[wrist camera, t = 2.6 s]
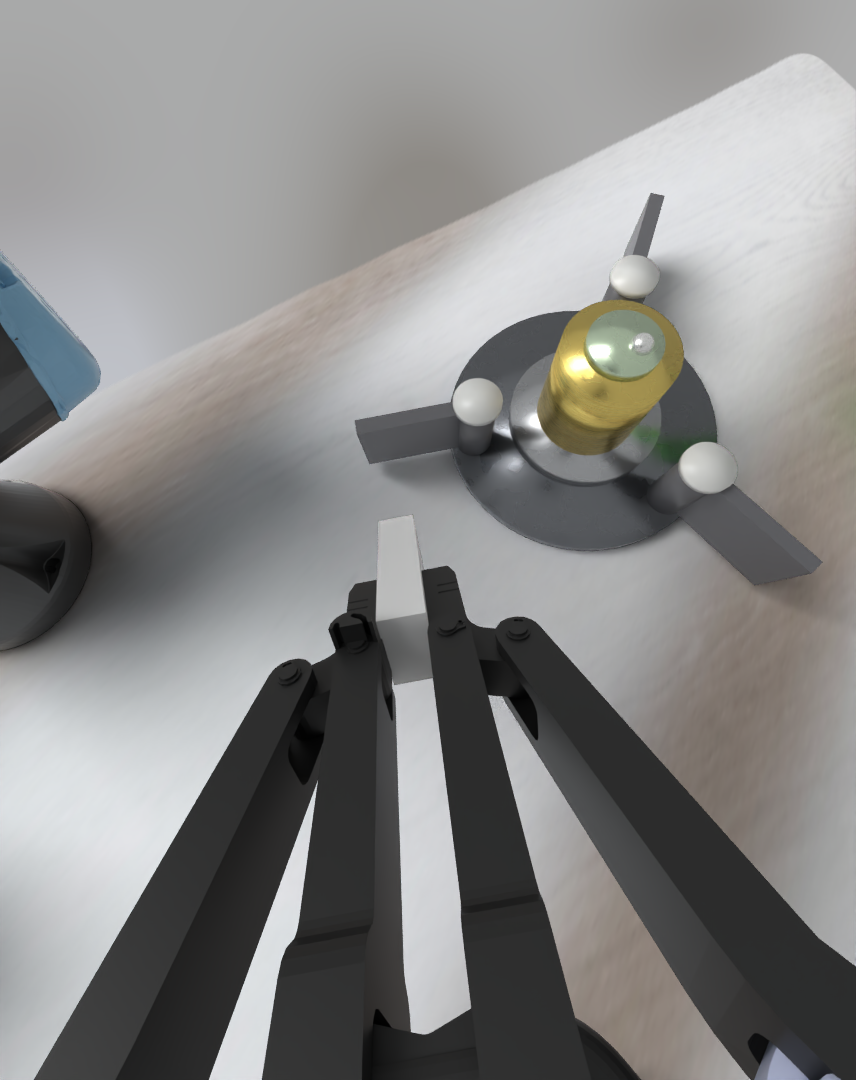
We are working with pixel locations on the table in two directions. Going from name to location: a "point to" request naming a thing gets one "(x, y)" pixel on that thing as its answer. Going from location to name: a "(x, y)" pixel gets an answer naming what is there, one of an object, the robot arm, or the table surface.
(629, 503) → the tribrach
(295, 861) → the table surface
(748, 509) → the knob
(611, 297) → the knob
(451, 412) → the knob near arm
